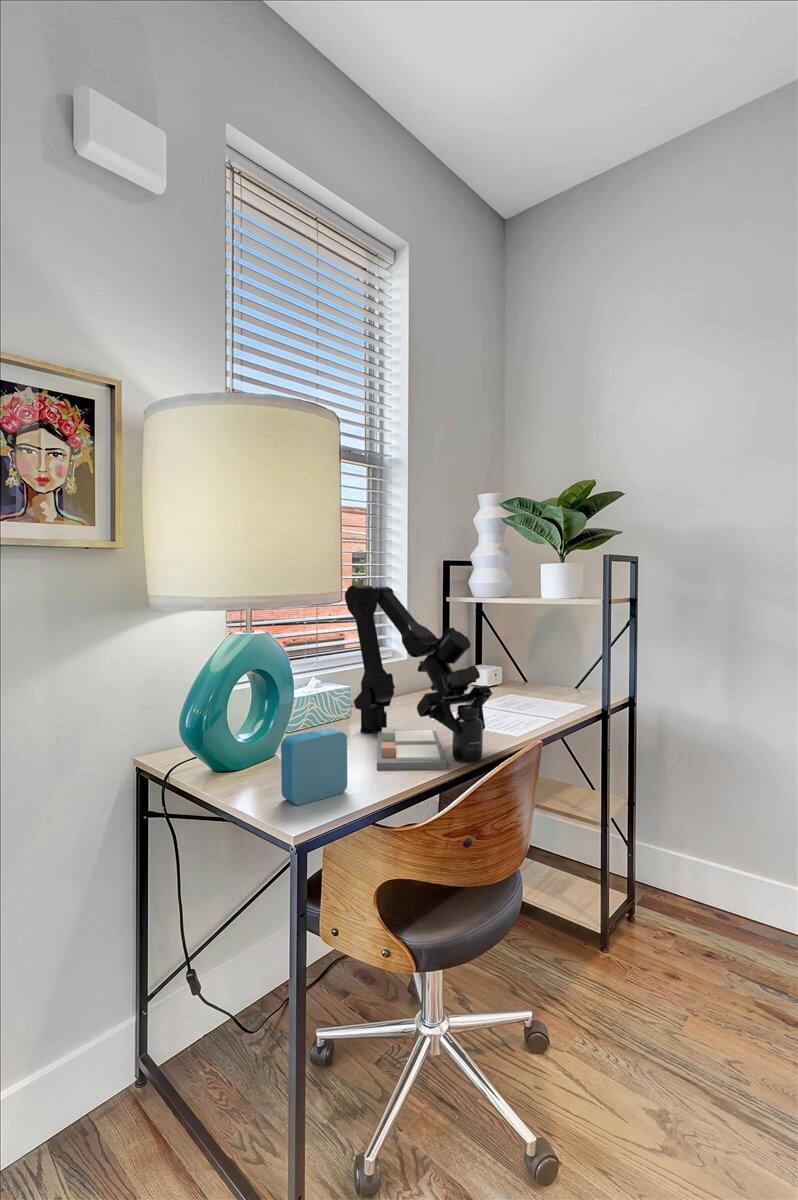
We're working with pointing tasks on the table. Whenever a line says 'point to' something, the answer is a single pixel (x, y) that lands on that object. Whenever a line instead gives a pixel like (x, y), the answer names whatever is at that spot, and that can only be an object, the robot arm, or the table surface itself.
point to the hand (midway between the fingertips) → (471, 731)
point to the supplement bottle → (468, 735)
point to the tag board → (409, 750)
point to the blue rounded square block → (313, 765)
